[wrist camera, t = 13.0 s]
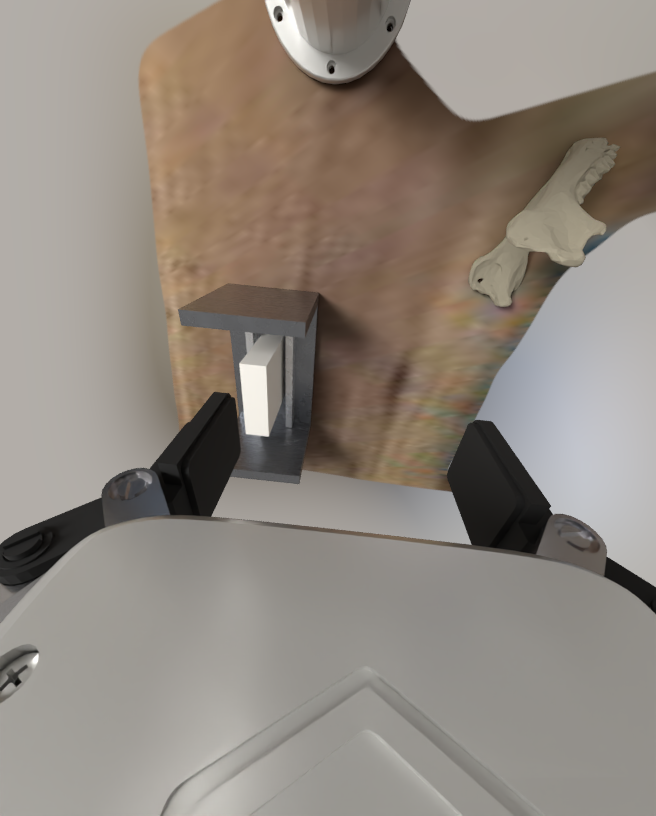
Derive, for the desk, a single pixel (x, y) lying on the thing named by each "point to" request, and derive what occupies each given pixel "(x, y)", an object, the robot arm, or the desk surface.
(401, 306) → the desk surface
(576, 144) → the jawbone
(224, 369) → the desk surface
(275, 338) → the door
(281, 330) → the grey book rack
